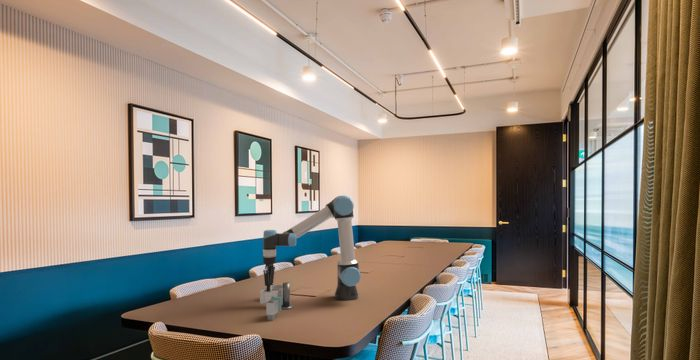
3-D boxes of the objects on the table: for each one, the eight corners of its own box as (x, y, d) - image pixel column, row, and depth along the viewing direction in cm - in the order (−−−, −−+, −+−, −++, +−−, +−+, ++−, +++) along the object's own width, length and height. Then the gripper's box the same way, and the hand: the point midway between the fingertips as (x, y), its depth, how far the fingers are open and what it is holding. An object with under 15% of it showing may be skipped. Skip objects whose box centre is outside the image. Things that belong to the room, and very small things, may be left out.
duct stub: (272, 315, 218) (272, 296, 219) (281, 315, 217) (281, 296, 218) (265, 320, 208) (265, 301, 208) (274, 321, 207) (274, 301, 208)
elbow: (282, 304, 236) (282, 288, 236) (280, 306, 231) (280, 290, 231) (262, 304, 237) (262, 288, 237) (259, 306, 232) (259, 290, 232)
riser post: (281, 305, 238) (281, 281, 238) (294, 306, 236) (295, 281, 237) (277, 309, 230) (277, 284, 231) (290, 309, 229) (290, 284, 229)
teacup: (286, 297, 258) (287, 284, 258) (282, 301, 247) (282, 288, 248) (265, 296, 259) (265, 284, 260) (260, 301, 249) (260, 287, 249)
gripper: (267, 254, 246) (267, 293, 245) (259, 257, 233) (258, 299, 232) (279, 254, 245) (278, 294, 244) (271, 258, 232) (270, 299, 231)
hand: (268, 296), depth 238 cm, fingers closed
